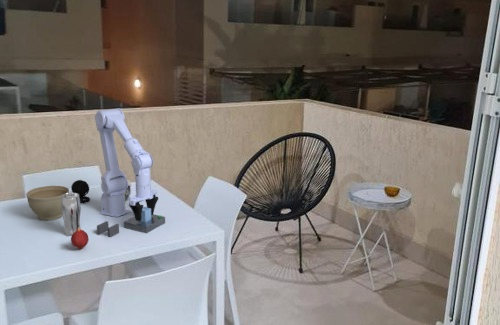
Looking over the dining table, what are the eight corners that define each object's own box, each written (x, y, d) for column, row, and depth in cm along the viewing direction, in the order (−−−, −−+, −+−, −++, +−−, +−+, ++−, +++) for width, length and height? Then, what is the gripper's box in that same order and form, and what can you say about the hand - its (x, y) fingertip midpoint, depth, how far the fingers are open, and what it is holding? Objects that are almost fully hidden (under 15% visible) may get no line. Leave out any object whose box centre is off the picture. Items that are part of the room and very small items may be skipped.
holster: (97, 234, 179) (96, 225, 178) (106, 229, 183) (106, 221, 182) (110, 237, 176) (109, 228, 175) (119, 232, 180) (118, 224, 179)
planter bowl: (19, 220, 191) (16, 194, 188) (50, 207, 205) (47, 183, 203) (50, 226, 185) (48, 200, 182) (79, 213, 200) (77, 188, 197)
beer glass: (86, 230, 181) (83, 193, 178) (74, 237, 175) (71, 199, 171) (71, 228, 184) (68, 191, 180) (59, 235, 177) (55, 197, 173)
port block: (123, 227, 185) (123, 220, 184) (143, 218, 195) (143, 210, 195) (146, 233, 180) (146, 225, 179) (165, 222, 191) (165, 215, 190)
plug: (138, 226, 187) (138, 209, 185) (144, 223, 190) (143, 206, 188) (145, 227, 185) (145, 211, 184) (151, 224, 188) (150, 208, 187)
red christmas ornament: (74, 245, 169) (72, 224, 167) (91, 245, 169) (89, 224, 167) (69, 252, 163) (67, 231, 161) (86, 252, 163) (85, 231, 161)
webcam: (92, 198, 218) (90, 177, 215) (87, 204, 210) (86, 182, 208) (75, 198, 217) (73, 177, 215) (70, 204, 210) (68, 182, 208)
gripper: (139, 191, 175) (140, 225, 179) (162, 181, 188) (163, 213, 192) (124, 188, 178) (126, 221, 182) (148, 178, 191) (149, 210, 195)
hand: (144, 217), depth 187 cm, fingers open, 7 cm apart
